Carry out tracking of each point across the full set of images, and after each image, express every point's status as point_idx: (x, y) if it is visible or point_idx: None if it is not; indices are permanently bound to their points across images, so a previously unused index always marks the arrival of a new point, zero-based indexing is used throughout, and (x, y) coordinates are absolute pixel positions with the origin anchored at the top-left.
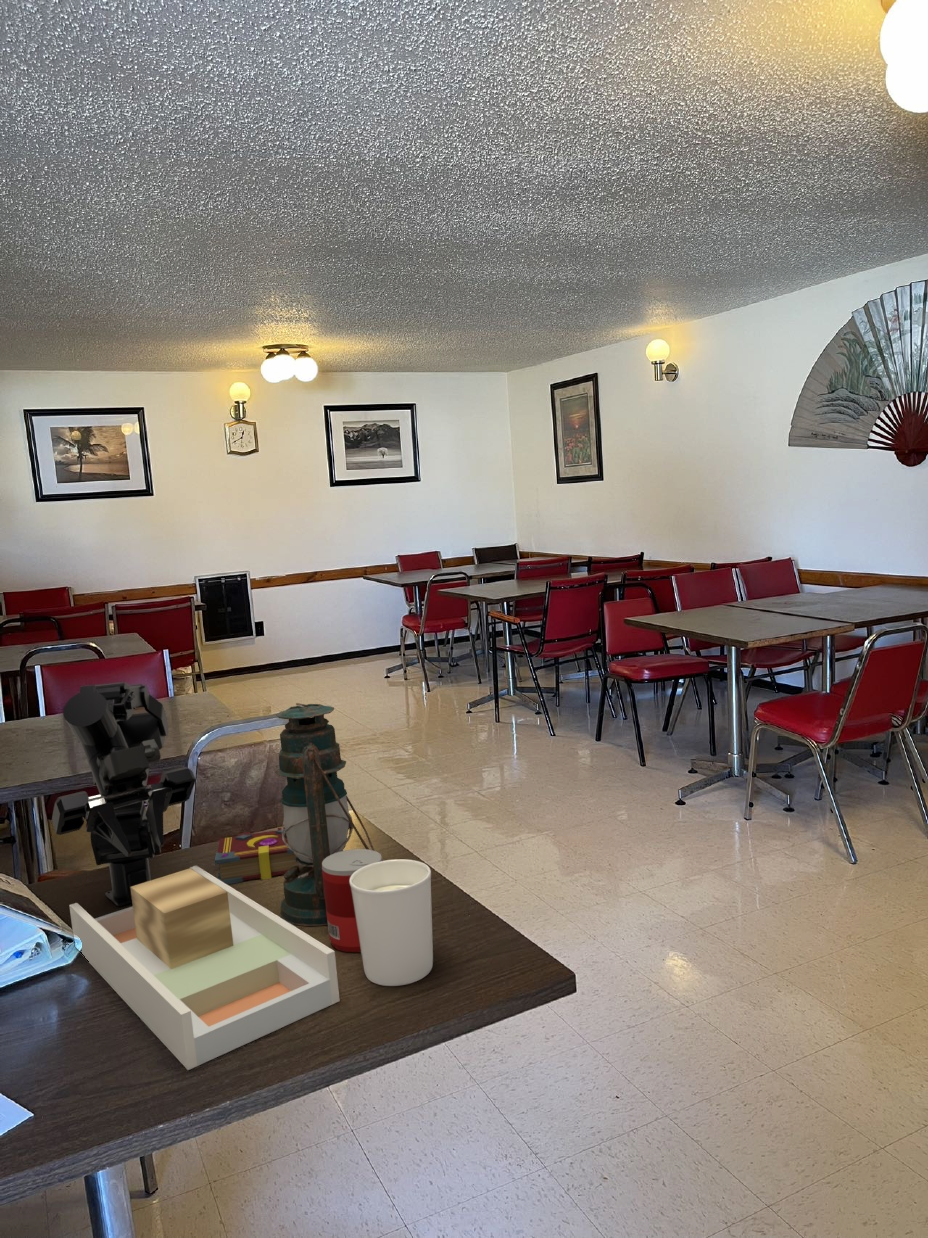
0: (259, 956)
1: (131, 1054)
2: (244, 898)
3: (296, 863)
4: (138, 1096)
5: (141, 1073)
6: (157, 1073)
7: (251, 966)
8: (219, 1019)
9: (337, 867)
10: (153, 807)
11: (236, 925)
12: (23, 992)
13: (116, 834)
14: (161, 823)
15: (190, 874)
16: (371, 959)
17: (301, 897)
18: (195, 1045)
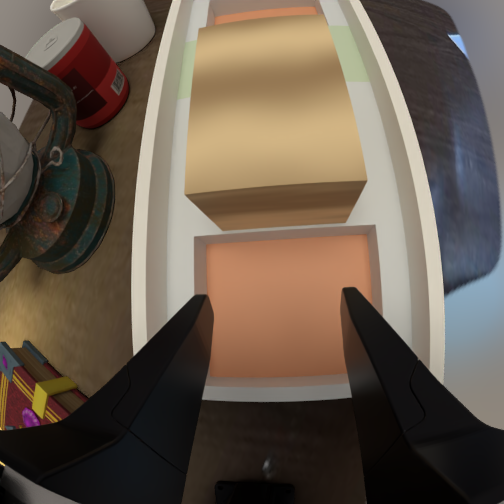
0: None
1: (380, 40)
2: (147, 137)
3: (30, 358)
4: (376, 4)
5: (373, 19)
6: None
7: None
8: None
9: (67, 37)
10: (118, 435)
11: (185, 147)
12: (490, 261)
13: (409, 347)
14: (146, 349)
15: (203, 148)
16: (148, 12)
17: (82, 162)
18: None
